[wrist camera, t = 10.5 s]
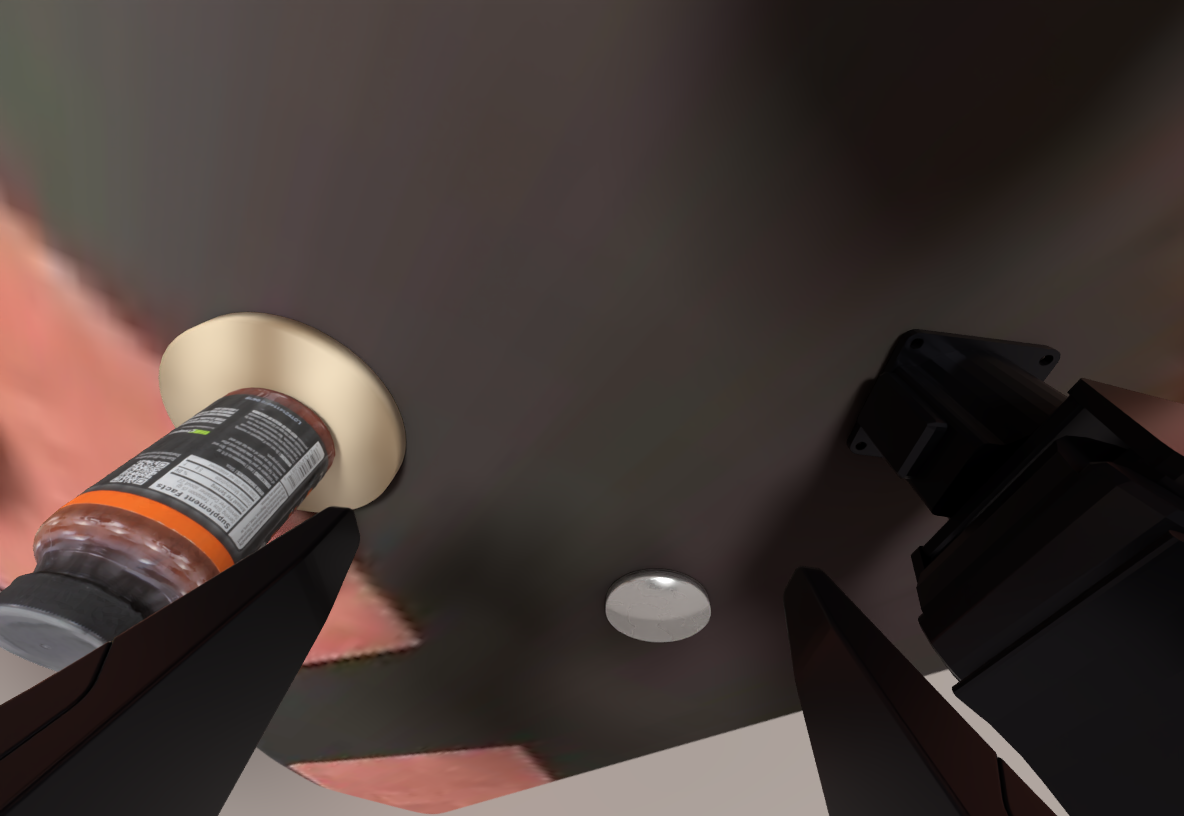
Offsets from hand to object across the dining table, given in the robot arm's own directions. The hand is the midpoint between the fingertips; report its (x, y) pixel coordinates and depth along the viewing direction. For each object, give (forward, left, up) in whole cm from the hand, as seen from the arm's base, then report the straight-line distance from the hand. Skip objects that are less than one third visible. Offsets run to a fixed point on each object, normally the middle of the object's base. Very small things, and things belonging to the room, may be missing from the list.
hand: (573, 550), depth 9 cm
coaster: (+16, +8, -13) cm, 22 cm away
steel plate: (-6, +20, -13) cm, 25 cm away
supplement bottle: (+16, +8, -12) cm, 21 cm away
